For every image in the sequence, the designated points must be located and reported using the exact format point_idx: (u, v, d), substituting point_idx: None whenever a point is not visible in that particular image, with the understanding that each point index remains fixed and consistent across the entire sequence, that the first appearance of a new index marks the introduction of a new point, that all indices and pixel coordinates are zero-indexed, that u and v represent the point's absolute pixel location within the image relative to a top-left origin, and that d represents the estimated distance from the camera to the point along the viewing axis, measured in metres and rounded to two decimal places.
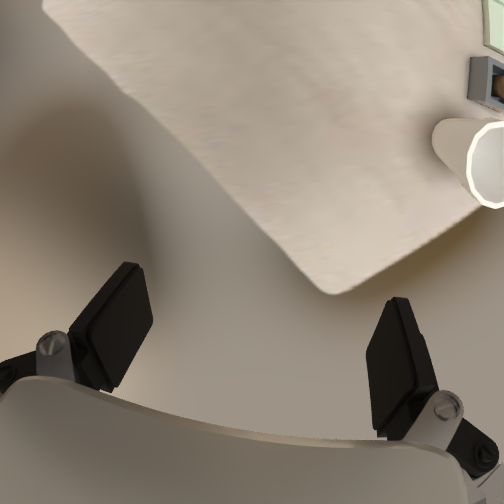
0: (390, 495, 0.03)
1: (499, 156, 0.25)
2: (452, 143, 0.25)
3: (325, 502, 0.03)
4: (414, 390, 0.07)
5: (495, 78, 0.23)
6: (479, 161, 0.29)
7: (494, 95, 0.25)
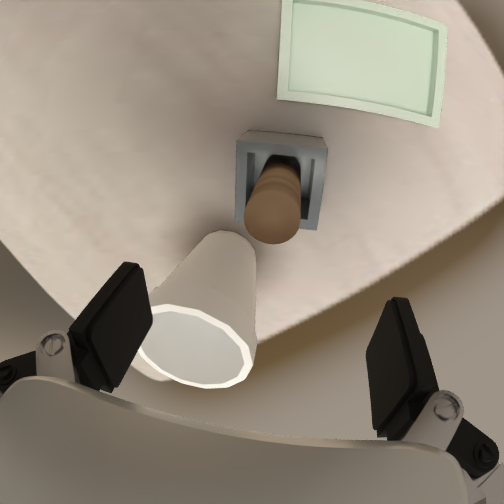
0: (390, 495, 0.03)
1: None
2: None
3: (325, 501, 0.03)
4: (414, 390, 0.07)
5: None
6: None
7: None
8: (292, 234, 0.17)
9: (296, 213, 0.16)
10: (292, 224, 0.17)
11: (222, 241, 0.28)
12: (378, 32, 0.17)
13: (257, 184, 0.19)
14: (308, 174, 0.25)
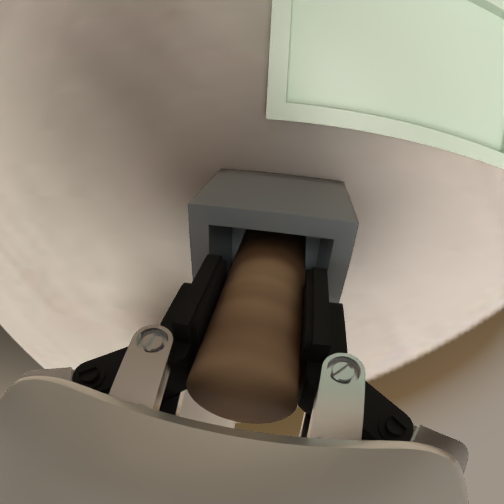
0: (390, 495, 0.03)
1: None
2: None
3: (325, 502, 0.03)
4: None
5: (234, 258, 0.13)
6: None
7: None
8: (280, 417, 0.08)
9: (291, 395, 0.07)
10: (281, 407, 0.08)
11: None
12: (435, 11, 0.09)
13: (220, 305, 0.10)
14: (317, 241, 0.16)
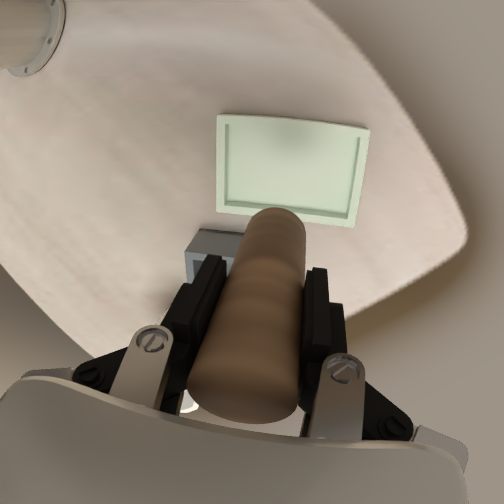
0: (390, 495, 0.03)
1: None
2: None
3: (326, 502, 0.03)
4: None
5: (234, 258, 0.13)
6: None
7: None
8: (280, 417, 0.08)
9: (291, 396, 0.07)
10: (281, 408, 0.08)
11: None
12: (302, 145, 0.26)
13: (219, 305, 0.10)
14: None
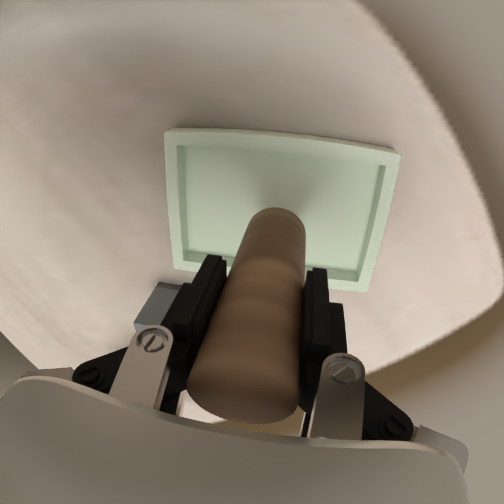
0: (390, 495, 0.03)
1: None
2: None
3: (325, 502, 0.03)
4: None
5: (234, 259, 0.13)
6: None
7: None
8: (280, 418, 0.08)
9: (291, 396, 0.07)
10: (281, 408, 0.08)
11: None
12: (295, 174, 0.18)
13: (219, 305, 0.10)
14: None
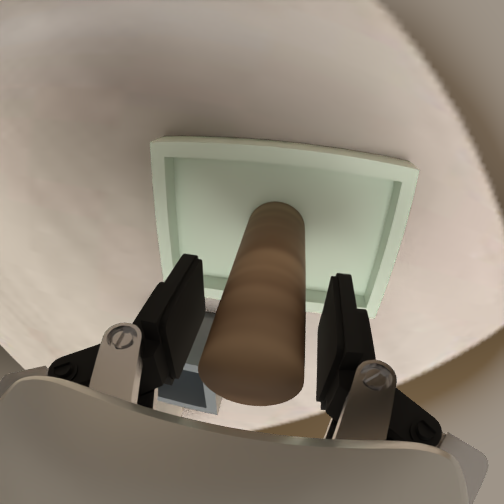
0: (390, 495, 0.03)
1: None
2: None
3: (325, 501, 0.03)
4: (343, 357, 0.08)
5: (238, 250, 0.13)
6: None
7: None
8: (287, 398, 0.09)
9: (298, 375, 0.08)
10: (288, 387, 0.08)
11: None
12: (299, 190, 0.16)
13: (227, 292, 0.10)
14: None
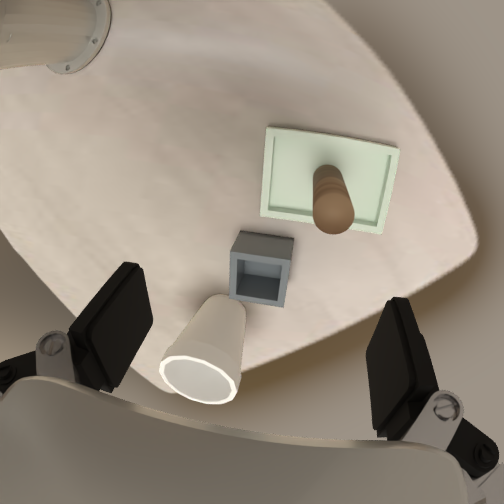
0: (390, 495, 0.03)
1: None
2: None
3: (325, 501, 0.03)
4: (414, 390, 0.07)
5: (315, 181, 0.27)
6: None
7: None
8: (347, 227, 0.22)
9: (352, 211, 0.21)
10: (348, 219, 0.22)
11: (221, 305, 0.39)
12: (340, 159, 0.29)
13: (318, 188, 0.24)
14: None
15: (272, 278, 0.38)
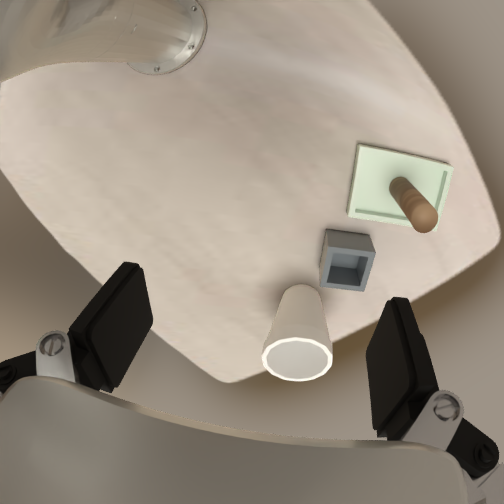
0: (390, 495, 0.03)
1: None
2: None
3: (325, 501, 0.03)
4: (414, 390, 0.07)
5: (399, 191, 0.33)
6: None
7: None
8: (432, 228, 0.28)
9: (437, 216, 0.27)
10: (434, 222, 0.27)
11: (305, 293, 0.45)
12: (410, 172, 0.35)
13: (410, 199, 0.29)
14: (358, 255, 0.42)
15: (349, 268, 0.43)
